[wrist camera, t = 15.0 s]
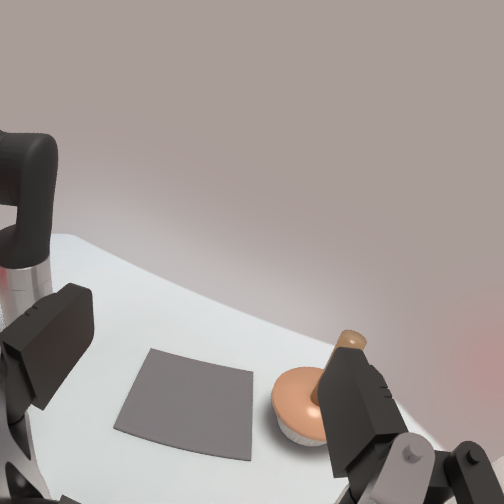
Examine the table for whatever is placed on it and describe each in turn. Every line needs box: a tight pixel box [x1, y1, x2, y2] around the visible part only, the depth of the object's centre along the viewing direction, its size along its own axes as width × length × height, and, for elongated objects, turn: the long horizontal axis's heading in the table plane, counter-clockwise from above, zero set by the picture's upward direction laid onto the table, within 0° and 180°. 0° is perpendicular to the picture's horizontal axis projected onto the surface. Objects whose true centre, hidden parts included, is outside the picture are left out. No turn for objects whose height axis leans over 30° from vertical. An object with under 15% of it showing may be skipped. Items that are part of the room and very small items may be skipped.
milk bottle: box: [444, 455, 504, 504], centre depth 13 cm, size 8×8×20 cm
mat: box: [113, 348, 253, 461], centre depth 37 cm, size 18×18×1 cm
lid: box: [271, 330, 367, 442], centre depth 33 cm, size 14×14×12 cm
